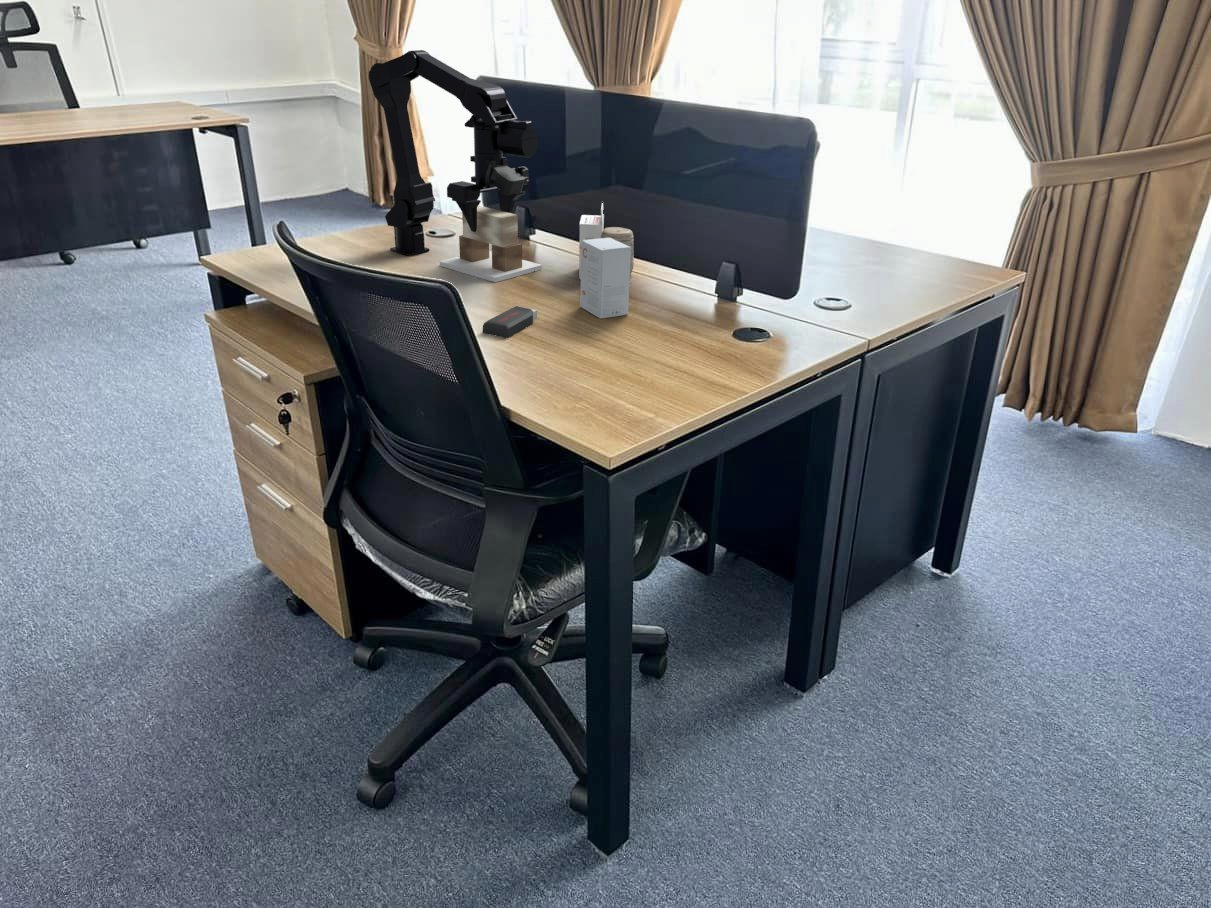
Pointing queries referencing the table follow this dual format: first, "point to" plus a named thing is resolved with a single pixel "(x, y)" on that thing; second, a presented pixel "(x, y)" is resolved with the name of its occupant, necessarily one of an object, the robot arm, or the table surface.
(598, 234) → the ink cartridge box
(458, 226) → the table surface
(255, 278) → the table surface
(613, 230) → the carving
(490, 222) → the maple beam block
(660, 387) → the table surface
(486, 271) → the grey base board
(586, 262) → the small box
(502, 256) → the walnut posts
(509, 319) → the usb drive
